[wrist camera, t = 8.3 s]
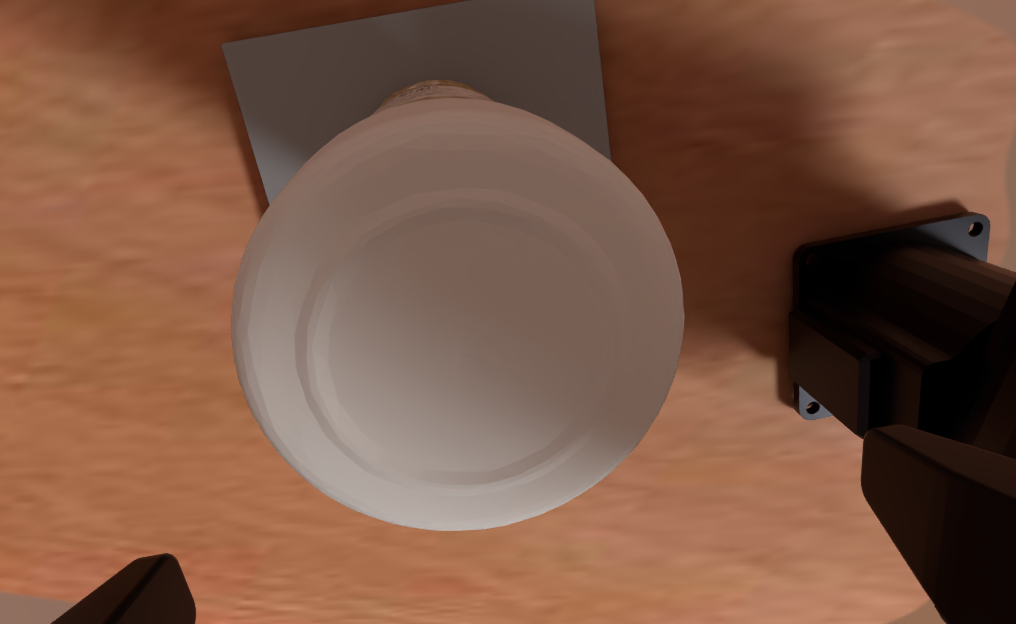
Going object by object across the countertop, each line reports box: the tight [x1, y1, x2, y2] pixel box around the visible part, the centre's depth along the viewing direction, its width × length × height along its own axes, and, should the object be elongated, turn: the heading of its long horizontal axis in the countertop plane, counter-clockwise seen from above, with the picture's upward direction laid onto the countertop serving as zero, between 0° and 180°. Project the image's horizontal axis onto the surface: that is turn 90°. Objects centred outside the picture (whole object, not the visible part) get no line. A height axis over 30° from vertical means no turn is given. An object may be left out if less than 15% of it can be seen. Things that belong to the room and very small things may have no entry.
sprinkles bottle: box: [231, 80, 685, 531], centre depth 12 cm, size 5×5×14 cm
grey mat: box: [221, 0, 611, 205], centre depth 19 cm, size 10×8×1 cm
